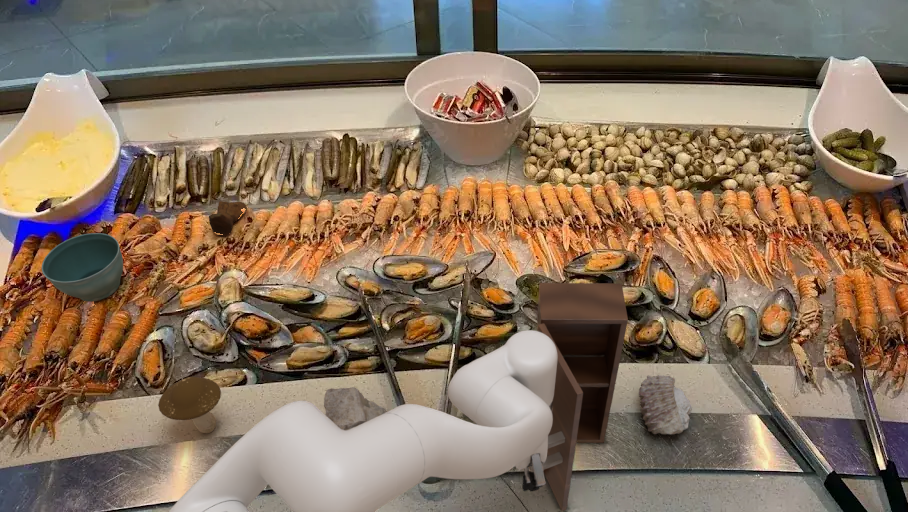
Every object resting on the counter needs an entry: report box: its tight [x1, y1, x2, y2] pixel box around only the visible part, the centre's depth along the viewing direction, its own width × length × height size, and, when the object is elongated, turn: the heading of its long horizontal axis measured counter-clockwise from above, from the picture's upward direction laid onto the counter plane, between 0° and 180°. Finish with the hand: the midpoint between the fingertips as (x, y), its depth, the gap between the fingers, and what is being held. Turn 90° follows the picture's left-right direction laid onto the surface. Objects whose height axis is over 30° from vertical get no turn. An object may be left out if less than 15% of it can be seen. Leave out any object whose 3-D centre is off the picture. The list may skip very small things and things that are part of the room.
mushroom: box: [157, 376, 222, 434], centre depth 129 cm, size 9×11×15 cm
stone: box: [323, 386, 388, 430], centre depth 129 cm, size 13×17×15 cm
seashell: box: [638, 374, 693, 435], centre depth 135 cm, size 14×9×10 cm
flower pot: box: [41, 232, 124, 303], centre depth 158 cm, size 16×16×11 cm
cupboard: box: [536, 282, 629, 444], centre depth 122 cm, size 8×14×38 cm, turn 90°
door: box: [529, 323, 583, 512], centre depth 113 cm, size 7×14×38 cm, turn 22°
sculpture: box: [208, 200, 248, 238], centre depth 176 cm, size 8×10×15 cm
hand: (524, 459), depth 108 cm, fingers open, 9 cm apart
